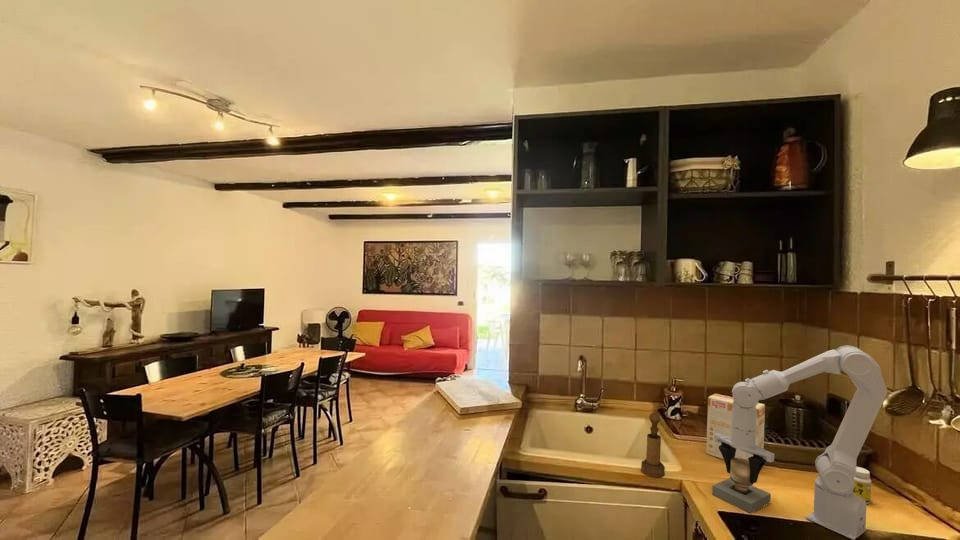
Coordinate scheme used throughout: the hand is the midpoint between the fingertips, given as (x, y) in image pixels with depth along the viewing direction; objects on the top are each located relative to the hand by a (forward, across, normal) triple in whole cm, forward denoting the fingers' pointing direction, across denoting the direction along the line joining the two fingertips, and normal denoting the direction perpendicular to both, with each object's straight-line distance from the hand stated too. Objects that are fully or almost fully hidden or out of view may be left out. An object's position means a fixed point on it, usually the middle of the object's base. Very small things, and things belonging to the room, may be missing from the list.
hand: (741, 477), depth 114 cm
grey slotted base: (+6, 0, 0) cm, 6 cm away
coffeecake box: (+6, +14, -23) cm, 28 cm away
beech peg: (+3, 0, 0) cm, 3 cm away
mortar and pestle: (+6, +21, +9) cm, 24 cm away
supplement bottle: (+6, -16, -29) cm, 34 cm away
